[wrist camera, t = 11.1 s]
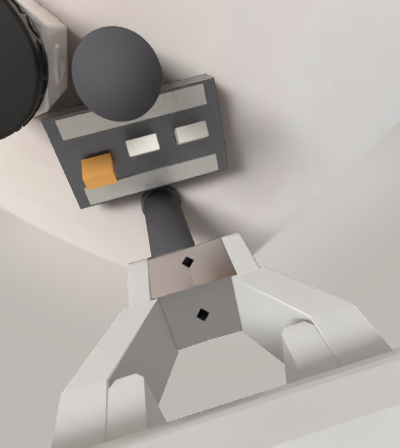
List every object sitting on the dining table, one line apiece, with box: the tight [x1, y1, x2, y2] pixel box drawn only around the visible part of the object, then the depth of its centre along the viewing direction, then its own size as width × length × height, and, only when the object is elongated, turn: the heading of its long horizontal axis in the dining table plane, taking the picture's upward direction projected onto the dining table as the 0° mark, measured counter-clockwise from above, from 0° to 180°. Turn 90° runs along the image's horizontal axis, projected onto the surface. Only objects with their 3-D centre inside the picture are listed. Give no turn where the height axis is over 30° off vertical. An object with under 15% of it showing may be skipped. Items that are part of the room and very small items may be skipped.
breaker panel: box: [42, 74, 228, 209], centre depth 30 cm, size 14×8×3 cm, turn 101°
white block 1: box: [125, 133, 160, 157], centre depth 27 cm, size 2×1×2 cm, turn 101°
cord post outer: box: [141, 186, 195, 257], centre depth 28 cm, size 4×4×16 cm
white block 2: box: [174, 121, 209, 145], centre depth 27 cm, size 2×1×2 cm, turn 101°
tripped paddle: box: [81, 153, 117, 190], centre depth 27 cm, size 2×1×2 cm, turn 102°
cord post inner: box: [72, 26, 162, 122], centre depth 20 cm, size 4×4×16 cm
